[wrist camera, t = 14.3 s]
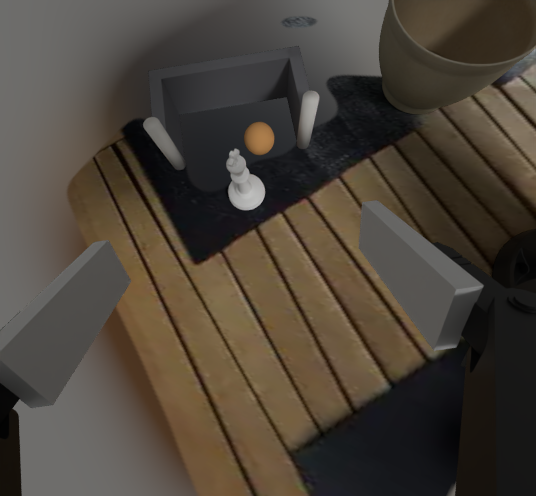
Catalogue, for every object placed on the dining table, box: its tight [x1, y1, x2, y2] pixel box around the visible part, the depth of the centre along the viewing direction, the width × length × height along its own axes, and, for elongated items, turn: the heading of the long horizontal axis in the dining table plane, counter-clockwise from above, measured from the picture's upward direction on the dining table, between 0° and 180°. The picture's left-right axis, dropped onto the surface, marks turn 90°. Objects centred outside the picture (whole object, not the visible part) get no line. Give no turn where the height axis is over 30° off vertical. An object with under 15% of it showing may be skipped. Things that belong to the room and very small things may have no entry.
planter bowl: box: [379, 0, 536, 114], centre depth 31 cm, size 16×16×11 cm
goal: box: [143, 46, 319, 170], centre depth 31 cm, size 10×19×8 cm, turn 100°
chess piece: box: [226, 149, 265, 210], centre depth 28 cm, size 5×5×10 cm
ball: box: [244, 122, 274, 155], centre depth 33 cm, size 4×4×4 cm
